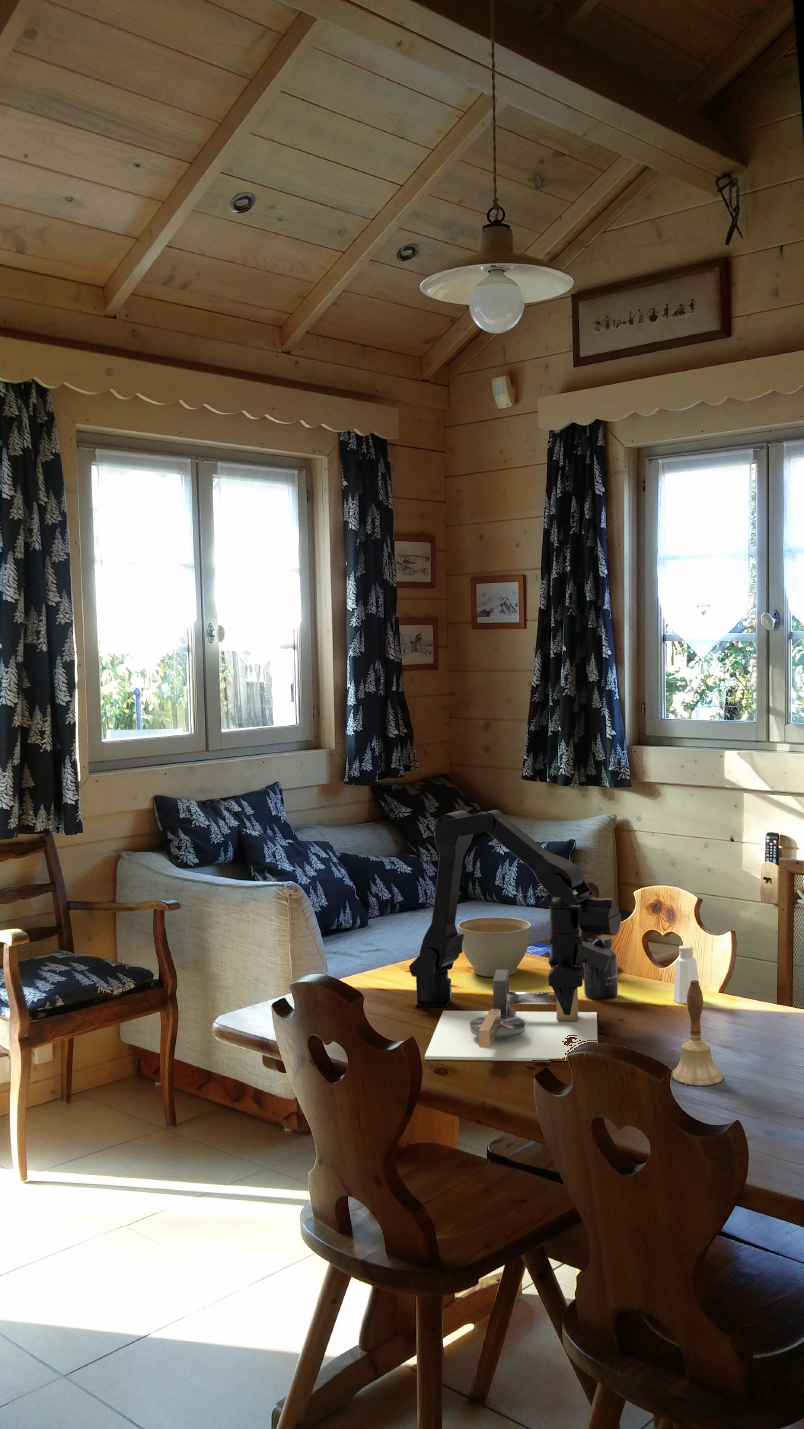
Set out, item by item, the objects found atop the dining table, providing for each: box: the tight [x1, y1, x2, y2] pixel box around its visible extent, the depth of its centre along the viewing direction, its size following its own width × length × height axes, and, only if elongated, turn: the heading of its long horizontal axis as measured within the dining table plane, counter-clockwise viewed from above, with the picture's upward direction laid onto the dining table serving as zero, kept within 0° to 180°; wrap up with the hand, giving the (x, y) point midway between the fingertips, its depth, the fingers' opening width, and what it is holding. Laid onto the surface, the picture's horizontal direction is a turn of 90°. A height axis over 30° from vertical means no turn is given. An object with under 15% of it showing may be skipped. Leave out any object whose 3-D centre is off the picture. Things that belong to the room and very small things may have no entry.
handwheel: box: [470, 1008, 525, 1048], centre depth 214 cm, size 16×16×4 cm
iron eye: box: [492, 969, 516, 1016], centre depth 229 cm, size 4×10×8 cm, turn 171°
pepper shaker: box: [673, 944, 700, 1005], centre depth 238 cm, size 5×5×11 cm
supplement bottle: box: [583, 935, 619, 1001], centre depth 244 cm, size 7×7×12 cm
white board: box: [424, 1010, 598, 1062], centre depth 220 cm, size 30×27×2 cm
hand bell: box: [672, 980, 724, 1087], centre depth 195 cm, size 8×8×16 cm
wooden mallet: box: [507, 987, 579, 1021], centre depth 228 cm, size 15×4×6 cm, turn 81°
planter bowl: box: [457, 916, 532, 978], centre depth 265 cm, size 16×16×11 cm
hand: (567, 1011), depth 227 cm, fingers closed on wooden mallet, 4 cm apart
